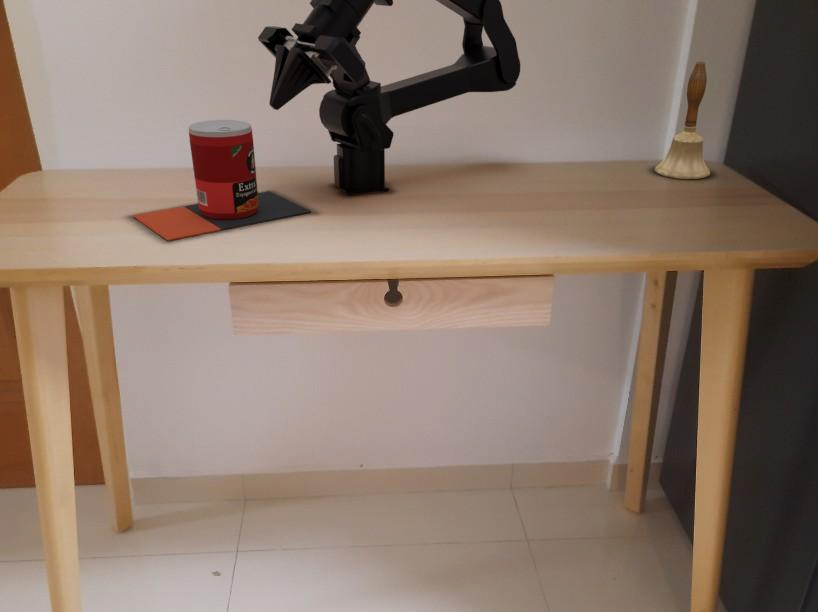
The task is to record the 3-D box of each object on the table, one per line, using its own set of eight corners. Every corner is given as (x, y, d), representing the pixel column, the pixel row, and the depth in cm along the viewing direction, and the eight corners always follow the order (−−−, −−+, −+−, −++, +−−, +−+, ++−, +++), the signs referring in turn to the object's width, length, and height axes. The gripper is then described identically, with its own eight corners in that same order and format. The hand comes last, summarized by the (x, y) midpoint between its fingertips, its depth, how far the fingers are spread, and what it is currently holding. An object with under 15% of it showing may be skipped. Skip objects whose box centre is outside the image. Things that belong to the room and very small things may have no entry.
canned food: (247, 222, 99) (238, 132, 93) (189, 218, 100) (176, 130, 95) (267, 205, 105) (260, 120, 100) (212, 201, 107) (202, 118, 101)
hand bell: (682, 182, 117) (703, 67, 108) (643, 169, 123) (660, 60, 115) (721, 175, 120) (745, 63, 112) (681, 164, 126) (701, 57, 118)
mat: (269, 192, 112) (269, 191, 111) (311, 212, 103) (311, 211, 103) (183, 207, 105) (183, 206, 105) (221, 230, 97) (221, 228, 97)
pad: (183, 207, 105) (183, 206, 105) (221, 230, 97) (221, 228, 97) (132, 216, 102) (132, 215, 101) (167, 241, 93) (167, 239, 93)
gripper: (420, 60, 99) (350, 160, 100) (342, 47, 112) (280, 135, 113) (367, -7, 91) (292, 101, 92) (290, -13, 104) (224, 82, 105)
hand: (273, 107), depth 100 cm, fingers closed
